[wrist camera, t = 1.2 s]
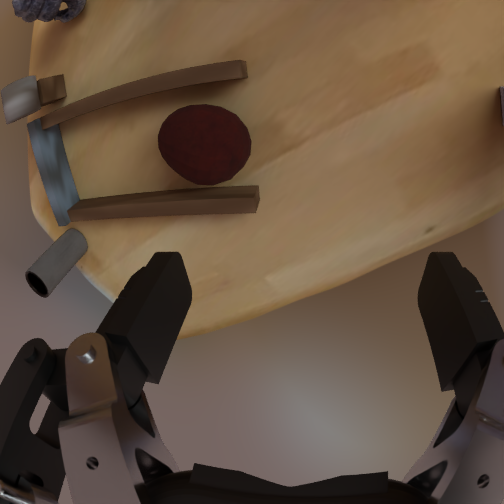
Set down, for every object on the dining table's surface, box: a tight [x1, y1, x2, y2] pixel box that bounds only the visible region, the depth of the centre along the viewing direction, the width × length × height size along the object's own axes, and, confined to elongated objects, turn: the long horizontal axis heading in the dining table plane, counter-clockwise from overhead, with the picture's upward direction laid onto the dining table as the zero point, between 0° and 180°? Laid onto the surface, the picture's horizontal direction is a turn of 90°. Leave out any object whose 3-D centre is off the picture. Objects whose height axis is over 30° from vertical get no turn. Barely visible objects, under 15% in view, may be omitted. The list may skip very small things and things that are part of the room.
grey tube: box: [25, 229, 88, 298], centre depth 33 cm, size 4×4×10 cm
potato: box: [158, 104, 251, 185], centre depth 24 cm, size 7×8×7 cm
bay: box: [1, 60, 260, 226], centre depth 23 cm, size 19×26×8 cm
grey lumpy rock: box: [12, 0, 86, 23], centre depth 14 cm, size 5×5×10 cm
